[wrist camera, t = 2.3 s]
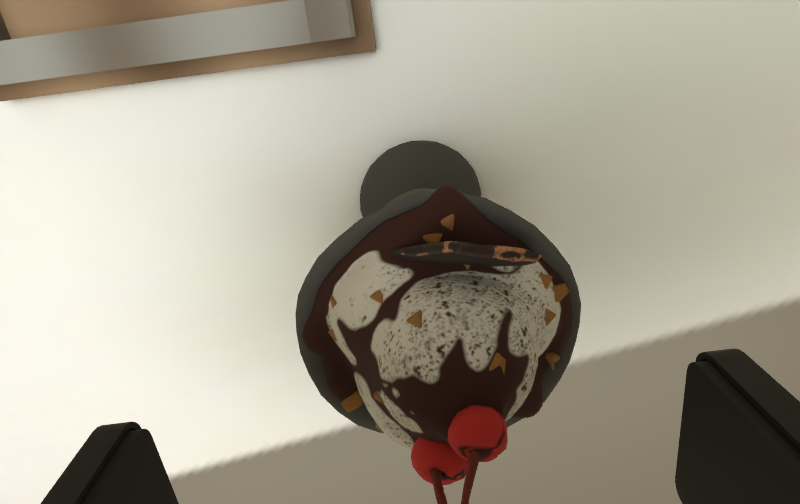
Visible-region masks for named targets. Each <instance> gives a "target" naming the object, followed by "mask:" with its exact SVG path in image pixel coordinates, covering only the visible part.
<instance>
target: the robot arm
mask: <svg viewBox="0 0 800 504" xmlns="http://www.w3.org/2000/svg"><path fill="white" fill-rule="evenodd" d="M675 483H676V489H677V492H678V495H679V497H680V500H681V501H682V503H683V504H800V402H799V401H798V400H797V399H796V398H795V397H794V396H792V395H791V394H790V393H789V392H788V391H787V390H786V389H785V388H783V387H782V386H781V385H780V384H779V383H778V382H776V381H775V380H774V379H773V378H772V377H771V376H770V375H769V374H768V373H767V372H765V371H764V370H763V369H762V368H761V367H760V366H759V365H757V364H756V363H755V362H754V361H753V360H752V359H751V358H749V357H748V356H747V355H746V354H745V353H744V352H742V351H741V350H739V349H726V350H718V351H710V352H703V353H700V354H699V355H698V356H697V358H696V362H692V363H690V364H689V366H688V369H687V375H686V384H685V393H684V403H683V411H682V422H681V430H680V439H679V449H678V458H677V468H676V476H675ZM41 504H179V503H178V501H177V499H176V496H175V493H174V491H173V488H172V486H171V483H170V481H169V478H168V476H167V473H166V471H165V468H164V466H163V463H162V461H161V458H160V456H159V453H158V451H157V448H156V446H155V443H154V441H153V438H152V436H151V434H150V432H149V431H148V430H147V429H141V427H140V425H139V424H137V423H136V422H126V423H118V424H110V425H102V426H99V427H97V428H96V429H95V430H94V431H93V432H92V434H91V435H90V436H89V438H88V439H87V441H86V442H85V443H84V445H83V446H82V447H81V449H80V450H79V452H78V453H77V454H76V456H75V457H74V458H73V460H72V461H71V463H70V464H69V465H68V467H67V468H66V469H65V471H64V472H63V474H62V475H61V476H60V478H59V479H58V480H57V482H56V483H55V485H54V486H53V487H52V489H51V490H50V491H49V493H48V494H47V496H46V497H45V498H44V500H43V501H42V502H41Z"/></svg>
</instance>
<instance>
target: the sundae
mask: <svg viewBox="0 0 800 504" xmlns="http://www.w3.org/2000/svg"><path fill="white" fill-rule="evenodd" d="M360 207H361V213H362V215H363V218H362V219H360V220H359V221H358V222H357V223H355V224H354V225H353V226H352V227H350V228H349V229H348V230H347V231H345V232H344V233H343V234H342V235H341V236H339V237H338V238H337V239H336V240H335V241H334V242H333V243H332V244H331V245H330V246H329V247H328V248H327V249H326V250H325V251H324V252H323V253H322V254H321V255H320V256H319V257H318V258H317V260H316V261H315V263H314V265H313V266H312V268H311V270H310V272H309V273H308V275H307V277H306V278H305V281H304V283H303V285H302V288H301V290H300V292H299V295H298V300H297V308H296V330H297V337H298V342H299V348H300V353H301V356H302V358H303V361H304V363H305V365H306V368H307V370H308V373H309V375H310V377H311V378H312V380H313V382H314V383H315V385H316V387H317V389H318V390H319V392H320V394H321V395H322V396H323V397H324V398H325V399H326V400H327V401H328V402H329V403H330V404H331V405H332V406H333V407H334V408H335V409H336V410H337V411H338V412H339V413H341V414H342V415H344V416H345V417H347V418H348V419H349V420H351V421H352V422H354V423H355V424H357V425H359V426H362V427H365V428H368V429H371V430H374V431H377V432H380V433H385V434H386V435H387V436H389V437H390V438H391V439H392V440H393V441H395V442H396V443H398V444H400V445H402V446H404V447H406V448H408V449H411V450H412V453H411V460H412V465H413V467H414V469H415V470H416V471H417V473H418V474H419V475H420V476H421V477H422V478H423V479H424V480H425V481H427V482H430V483H432V484H433V486H434V491H435V495H436V499H437V503H438V504H447V500H446V496H445V494H444V492H443V491H444V490H443V486H442V485H448V484H451V483H453V482H456V481H458V480H460V479H463V478H464V477H465V475H466V478H465V483H464V488H463V494H462V501H461V504H468V503H469V497H470V493H471V489H472V485H473V481H474V478H475V474H476V470H477V466H478V462H488V461H491V460H493V459H495V458H496V457H497V456H498V455H499V454H501V453H502V452H503V451H504V450H505V449H506V446H507V427H509V426H510V425H512V424H514V423H516V422H518V421H519V420H521V419H523V418H528V417H531V416H534V415H535V414H536V413H537V412H538V411H539V410H540V408H541V407H542V404H543V402H545V400H546V399H547V397H548V396H549V395H550V393H551V392H552V390H553V389H554V388H555V386H556V385H557V383H558V382H559V380H560V379H561V377H562V375H563V373H564V371H565V369H566V367H567V365H568V363H569V361H570V358H571V355H572V352H573V348H574V345H575V342H576V338H577V333H578V328H579V323H580V311H581V302H580V297H579V291H578V287H577V284H576V281H575V278H574V276H573V273H572V270H571V267H570V265H569V264H568V263H567V261H566V260H565V259H564V257H563V256H562V255H561V254H560V252H559V251H558V250H557V248H556V247H555V246H554V245H553V244H552V243H551V242H550V241H549V240H548V239H547V238H546V237H545V236H544V235H543V234H542V233H541V232H540V231H539V230H538V229H537V228H536V227H535V226H534V225H533V224H531V223H529V222H528V221H526V220H525V219H523V218H521V217H520V216H518V215H517V214H515V213H513V212H512V211H510V210H508V209H506V208H504V207H502V206H500V205H498V204H496V203H494V202H492V201H490V200H488V199H486V198H482V197H481V191H480V186H479V182H478V179H477V177H476V174H475V172H474V170H473V168H472V167H471V166H470V164H469V163H468V162H467V161H466V160H465V159H464V158H463V157H462V156H461V155H460V154H459V153H458V152H457V151H455V150H453V149H451V148H449V147H447V146H445V145H442V144H440V143H437V142H430V141H410V142H407V143H404V144H400V145H398V146H396V147H393V148H391V149H389V150H387V151H386V152H385V153H384V154H382V155H381V156H380V157H379V158H378V159H377V160H376V161H375V162H374V163H373V164H372V165H371V166H370V168H369V170H368V172H367V174H366V176H365V178H364V181H363V183H362V186H361V193H360Z"/></svg>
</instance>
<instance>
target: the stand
mask: <svg viewBox="0 0 800 504" xmlns="http://www.w3.org/2000/svg"><path fill="white" fill-rule="evenodd" d="M375 50H376V43H375V36H374V28H373V21H372V13H371V6H370V0H0V101H7V100H14V99H22V98H29V97H37V96H44V95H51V94H59V93H66V92H74V91H81V90H89V89H96V88H103V87H111V86H118V85H126V84H133V83H140V82H148V81H155V80H163V79H170V78H178V77H185V76H192V75H200V74H207V73H215V72H222V71H230V70H237V69H244V68H252V67H259V66H267V65H274V64H282V63H289V62H296V61H304V60H311V59H319V58H326V57H334V56H341V55H348V54H356V53H363V52H371V51H375Z"/></svg>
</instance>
